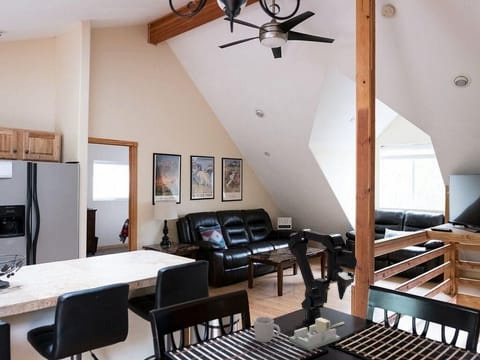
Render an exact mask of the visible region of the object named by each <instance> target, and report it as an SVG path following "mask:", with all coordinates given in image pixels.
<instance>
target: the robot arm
mask: <svg viewBox="0 0 480 360" xmlns="http://www.w3.org/2000/svg"><path fill="white" fill-rule="evenodd" d="M310 241H313V242H317V243H320V244H322V246H323V247H325V248H324V249H323V252H324V253H326V265H324V269H325V270H326V275H325V274H324V278H323V277H322V278H321V277H317V278H315V277H314V274H313V270H312V268H311V265H310V261H309V259H308V256H307V254H308V253H307V252H308V245H309V243H310ZM287 247H288V249H289V252H290V254H292V256H293V257H295V260H296V261H297V265H298V268H299V271H300V273H301V277H302V280H303V284H304V286H305V291H304V299H303V301H302V302H300V303H301V308H302V309H304V319H302V322H305V323H307V324H309V325H315V319H318V318H322V315H321V314H322V313H321V309H323V308H324V305H325V304H327V303H328V294H329V291H330V290H331V287H330V286H331V284H336V286H337V290H338V296H339V297H338V298H339V300H343V298H344V297H345V294H346V290H347V289H348V287H349V286H351V285H352V283H354V281H355V273H354V272H352V271H348V272H345V271H344V268H346V269H347V270H348V269H349V270H354V269H355V268H356V267H357V264H358V259H357V257H356V255H354V252H353V251H349V249H348V246H347V243H346V242H345V240H344V238H343V236H342V234H340V233H329V234H328V233H323V232H319V231H315V230H311V229H310V228H309V229H308V228H307V229H306V228H305V229H300V230H299V232H298V233H296V234H294V235H293V236H292V237H291V238H290V239H288V242H287Z"/></svg>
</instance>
